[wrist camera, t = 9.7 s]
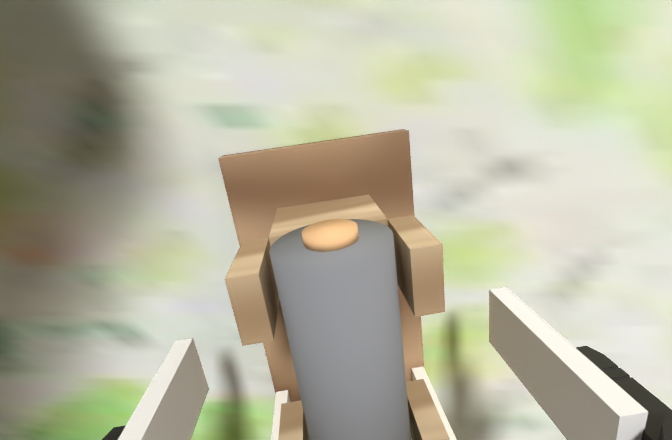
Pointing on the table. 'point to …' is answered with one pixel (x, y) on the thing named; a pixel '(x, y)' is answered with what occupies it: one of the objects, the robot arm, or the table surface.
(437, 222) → the table surface
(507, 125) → the table surface
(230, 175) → the cradle board
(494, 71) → the table surface
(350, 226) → the grey capped cylinder
